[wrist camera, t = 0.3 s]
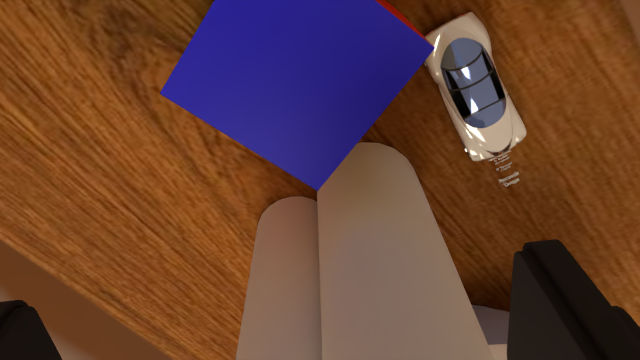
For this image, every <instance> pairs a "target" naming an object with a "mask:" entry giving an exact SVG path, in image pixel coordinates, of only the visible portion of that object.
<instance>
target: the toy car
mask: <svg viewBox="0 0 640 360" xmlns="http://www.w3.org/2000/svg"><path fill="white" fill-rule="evenodd" d="M425 38H426V39H427V40H428V41H429V42H430V43H431V44H432V45H433V46H434V47H435V49H434V50H433V52H432V53H431V54H430V55H429V56H428V58H427V59H426V60H425V61H424V65H425V66H426V68H427V70H428V71H429V73H430V74H431V75H432V76H431V77H432V79H433V80H434V81H435V82H436V83H437V84H438V86H439V89H440V92H441V95H442V98H443V100H444V103H445V105H446V108H447V110H448V112H449V115H450V117H451V119H452V122H453V124H454V126H455V128H456V130H457V132H458V135H459V137H460V138H461V142H462V144H463V146H464V149H465V151H466V152H467V154H468V156H469V157H470V159H471V160H472V161H484V160H485V159H489V158H492V157H495V156H498V154H499V152H501V153H502V152H506V151H508V150H509V149H511V148H512V147H514V146H515V145H517V144H519V143H520V142H522V140H523V139H524V137H525V136H526V134H527V132H526V128H525V126H524V124H523V122H522V120H521V118H520V116H519V114H518V112H517V110H516V108H515V106H514V104H513V102H512V100H511V98H510V97H509V95H511V94H508V93H507V91H506V89H505V87H504V85H503V83H502V81H501V79H500V77H499V74H498V72H497V69H496V66H495V63H494V60H493V57H492V48H491V41H490V38H489V35H488V33H487V30H486V28H485V27H484V25H483V23H482V22H481V21H480V20H479V19H478V18H477V16H476V15H475V14H474V13H473V12H469V13H466V14H464V13H463V14H462V15H461V16H460V15H458V17H457V18H455V19H453V20H451V21H449V22H447V23H444V24H442V25H441V26H440V27H438V28H437V29H435V30H433V31H430V33H429V34H428V33H427V35H426V36H425ZM488 54H489V55H488ZM511 141H512V142H511ZM510 142H511V144H510ZM509 151H510V150H509ZM488 152H491V153H493V154H490V153H488ZM495 152H496V153H495ZM501 153H500V154H501ZM500 154H499V155H500ZM503 154H506V153H503ZM501 155H502V154H501ZM498 157H500V156H498ZM505 157H506V156H505ZM501 158H502V157H501ZM498 159H499V158H498ZM506 159H509V158H506ZM506 159H504V160H506ZM499 160H500V159H499ZM490 161H492V160H491V159H490V160H489V161H488V162H490ZM494 162H495V160H494ZM511 163H512V162H511ZM509 164H510V163H509ZM495 165H497V162H496V163H495ZM507 166H508V165H507ZM509 167H510V166H509ZM500 168H504V167H500ZM506 169H507V168H506ZM496 170H497V169H496ZM503 171H504V169H503ZM501 172H502V170H501ZM515 173H516V172H515ZM517 174H518V172H517ZM517 174H516V176H517ZM514 175H515V174H514ZM518 175H519V174H518ZM512 176H513V175H512ZM512 176H511V178H512ZM509 177H510V176H509ZM514 177H515V176H514ZM508 179H509V178H508ZM517 179H518V181H519V178H517ZM500 180H501V182H502V179H500ZM500 180H499V182H500ZM506 180H507V179H506ZM506 180H505V181H506ZM513 181H514V180H513ZM511 182H512V181H511ZM515 182H516V180H515ZM515 182H513V183H515ZM509 183H510V182H509ZM509 183H508V184H509ZM513 183H512V184H513ZM504 184H505V183H504ZM508 184H507V186H508ZM515 184H516V183H515ZM510 185H511V184H510ZM505 186H506V185H505Z"/></svg>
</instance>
